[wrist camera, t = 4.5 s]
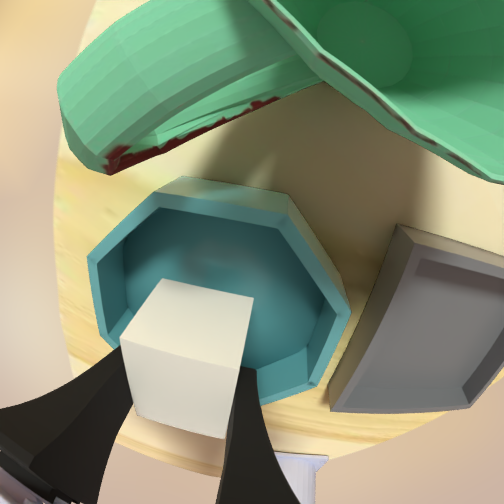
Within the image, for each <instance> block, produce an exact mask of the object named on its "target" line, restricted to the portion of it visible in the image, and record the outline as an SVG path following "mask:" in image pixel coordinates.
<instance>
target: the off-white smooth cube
mask: <svg viewBox="0 0 504 504" xmlns="http://www.w3.org/2000/svg"><path fill="white" fill-rule="evenodd" d="M253 300H254V298H252V297H247V296H242V295H237V294H232V293H227V292H222V291H218V290H213V289H208V288H204V287H199V286H195V285H190V284H186V283H181V282H177V281H173V280H168V279H164V278H162V279H161V280H160V282H159V283H158V284H157V286H156V287H155V288H154V290H153V291H152V292H151V294H150V295H149V297H148V298H147V299H146V301H145V302H144V303H143V305H142V306H141V308H140V309H139V310H138V312H137V313H136V315H135V316H134V317H133V319H132V320H131V322H130V323H129V325H128V326H127V327H126V329H125V330H124V332H123V333H122V335H121V336H120V337H119V338H120V344H121V349H122V354H123V359H124V364H125V369H126V374H127V378H128V382H129V387H130V391H131V395H132V399H133V403H134V406H135V410H136V414H137V415H138V416H141V417H144V418H147V419H150V420H153V421H156V422H159V423H162V424H165V425H169V426H172V427H176V428H179V429H183V430H187V431H190V432H194V433H198V434H203V435H207V436H211V437H216V438H220V439H225V435H226V430H227V426H228V421H229V416H230V412H231V407H232V402H233V398H234V393H235V388H236V383H237V379H238V374H239V369H240V364H241V359H242V355H243V350H244V345H245V340H246V335H247V330H248V325H249V320H250V315H251V310H252V305H253Z"/></svg>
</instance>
